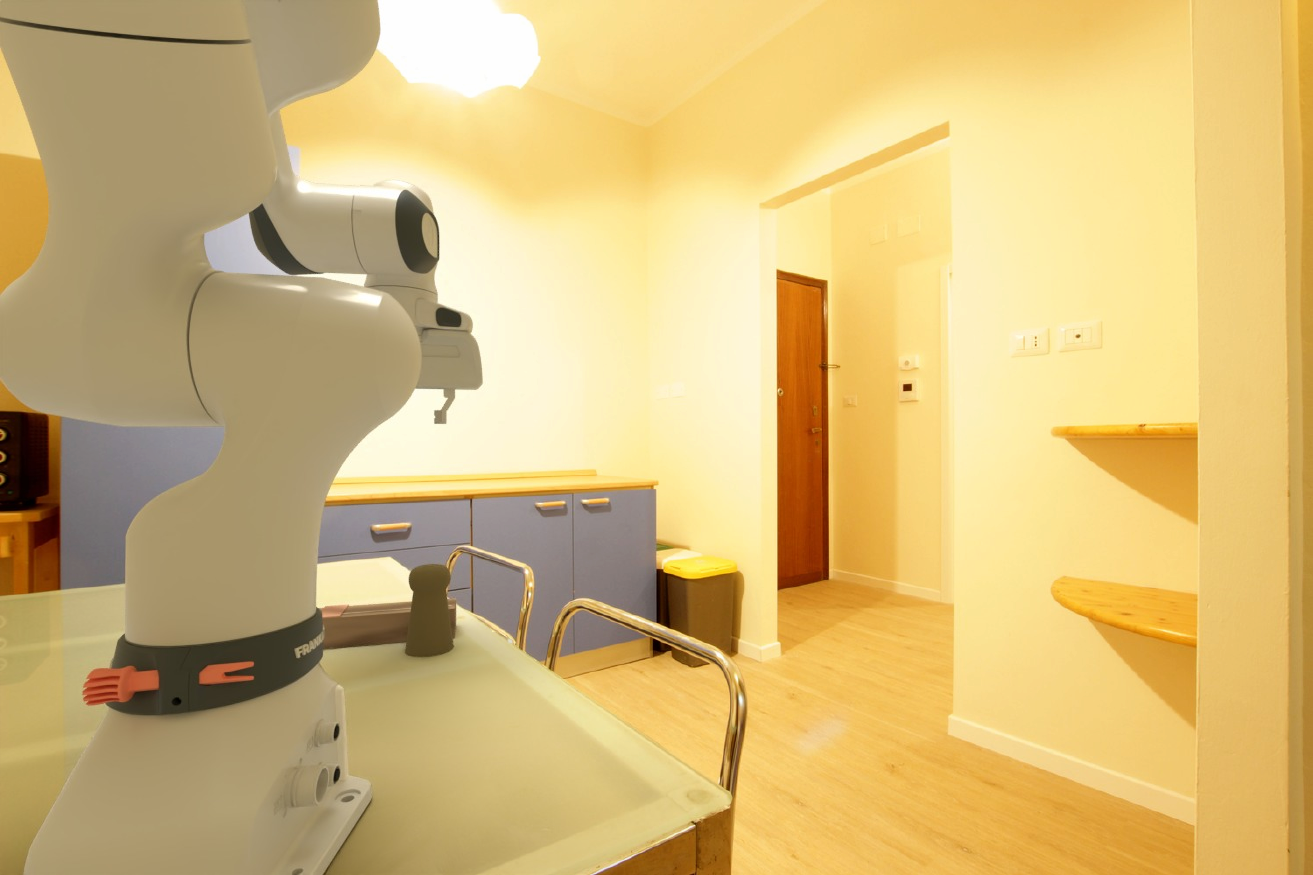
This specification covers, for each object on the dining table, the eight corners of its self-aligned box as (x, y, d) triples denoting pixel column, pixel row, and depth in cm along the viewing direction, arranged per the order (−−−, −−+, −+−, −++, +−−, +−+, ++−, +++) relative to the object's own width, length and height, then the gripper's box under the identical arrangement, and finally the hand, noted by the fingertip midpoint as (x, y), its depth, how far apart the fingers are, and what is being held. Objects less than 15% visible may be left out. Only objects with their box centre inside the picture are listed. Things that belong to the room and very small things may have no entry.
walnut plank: (454, 637, 84) (454, 607, 84) (292, 651, 78) (292, 619, 79) (456, 625, 90) (456, 596, 90) (305, 637, 84) (305, 607, 84)
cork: (421, 660, 75) (421, 571, 75) (395, 650, 79) (395, 566, 79) (463, 647, 80) (463, 564, 80) (436, 638, 84) (437, 559, 84)
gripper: (304, 306, 72) (304, 423, 72) (482, 316, 78) (483, 423, 78) (317, 316, 78) (317, 423, 78) (482, 324, 84) (482, 424, 84)
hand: (401, 423), depth 78 cm, fingers open, 8 cm apart
